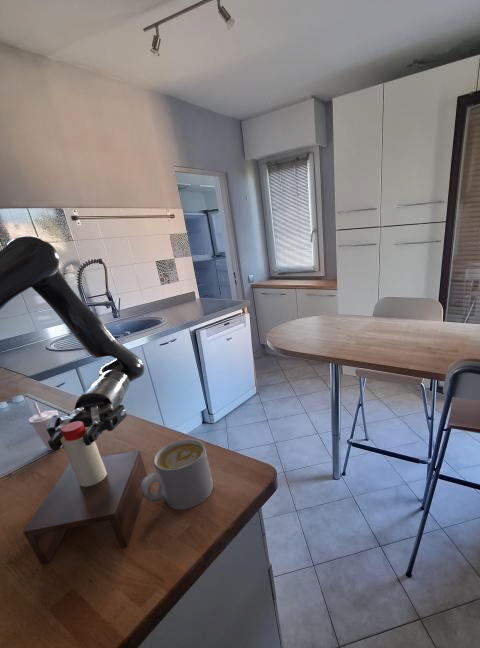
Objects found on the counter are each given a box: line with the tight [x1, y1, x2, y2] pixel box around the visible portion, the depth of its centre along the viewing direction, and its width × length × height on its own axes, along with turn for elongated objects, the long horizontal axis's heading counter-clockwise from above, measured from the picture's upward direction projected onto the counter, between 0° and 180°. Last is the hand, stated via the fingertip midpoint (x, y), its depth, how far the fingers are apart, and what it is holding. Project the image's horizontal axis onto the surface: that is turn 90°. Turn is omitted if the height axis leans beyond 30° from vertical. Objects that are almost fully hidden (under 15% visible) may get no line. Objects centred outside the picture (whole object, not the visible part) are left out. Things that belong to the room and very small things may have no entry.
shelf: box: [22, 450, 148, 566], centre depth 65 cm, size 14×18×8 cm
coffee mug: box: [141, 438, 214, 510], centre depth 69 cm, size 13×10×10 cm
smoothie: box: [28, 401, 63, 452], centre depth 88 cm, size 6×6×14 cm
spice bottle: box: [61, 421, 107, 487], centre depth 63 cm, size 5×5×12 cm
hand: (70, 443), depth 59 cm, fingers closed on spice bottle, 4 cm apart
